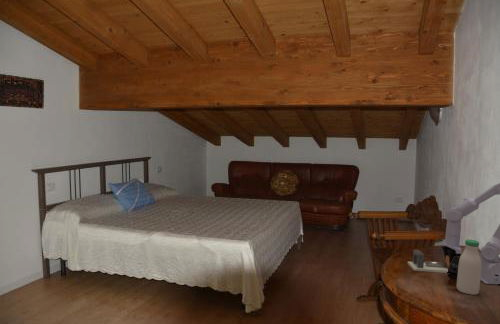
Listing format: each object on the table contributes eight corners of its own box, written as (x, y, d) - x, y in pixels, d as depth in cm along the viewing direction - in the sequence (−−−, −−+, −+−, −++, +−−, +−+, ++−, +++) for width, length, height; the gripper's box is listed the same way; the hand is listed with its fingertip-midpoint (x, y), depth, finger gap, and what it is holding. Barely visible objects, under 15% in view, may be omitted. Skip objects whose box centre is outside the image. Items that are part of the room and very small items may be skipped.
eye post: (423, 268, 169) (424, 254, 168) (417, 267, 169) (418, 254, 169) (417, 262, 176) (418, 249, 175) (412, 262, 176) (413, 249, 175)
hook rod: (452, 265, 173) (453, 254, 173) (456, 268, 169) (457, 257, 169) (424, 263, 174) (424, 253, 174) (427, 266, 170) (428, 255, 170)
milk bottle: (482, 296, 144) (487, 244, 143) (460, 293, 146) (464, 242, 144) (474, 288, 152) (479, 239, 150) (453, 285, 153) (458, 237, 152)
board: (456, 273, 167) (456, 271, 167) (414, 270, 168) (414, 268, 168) (447, 266, 176) (447, 264, 176) (407, 263, 177) (407, 261, 177)
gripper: (437, 229, 178) (434, 258, 179) (450, 238, 163) (447, 269, 164) (452, 230, 177) (450, 259, 178) (468, 239, 163) (465, 270, 164)
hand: (450, 264), depth 171 cm, fingers closed on hook rod, 4 cm apart
